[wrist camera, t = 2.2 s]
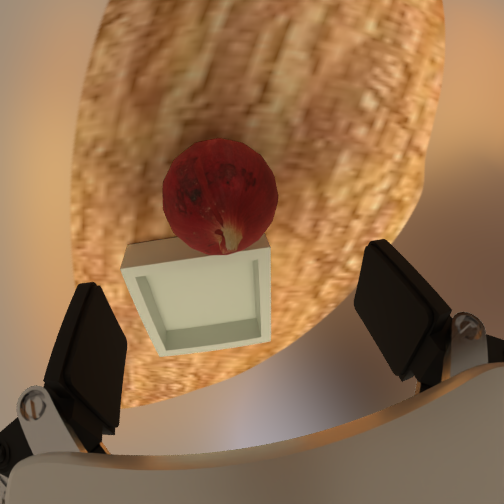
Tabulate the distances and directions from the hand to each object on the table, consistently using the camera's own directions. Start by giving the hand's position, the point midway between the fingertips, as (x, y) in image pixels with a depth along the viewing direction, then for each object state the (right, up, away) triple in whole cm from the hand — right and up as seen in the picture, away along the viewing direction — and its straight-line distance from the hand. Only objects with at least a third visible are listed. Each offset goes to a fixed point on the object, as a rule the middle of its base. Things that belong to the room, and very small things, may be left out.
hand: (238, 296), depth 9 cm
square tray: (-3, -1, +13) cm, 13 cm away
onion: (-2, +6, +8) cm, 10 cm away
